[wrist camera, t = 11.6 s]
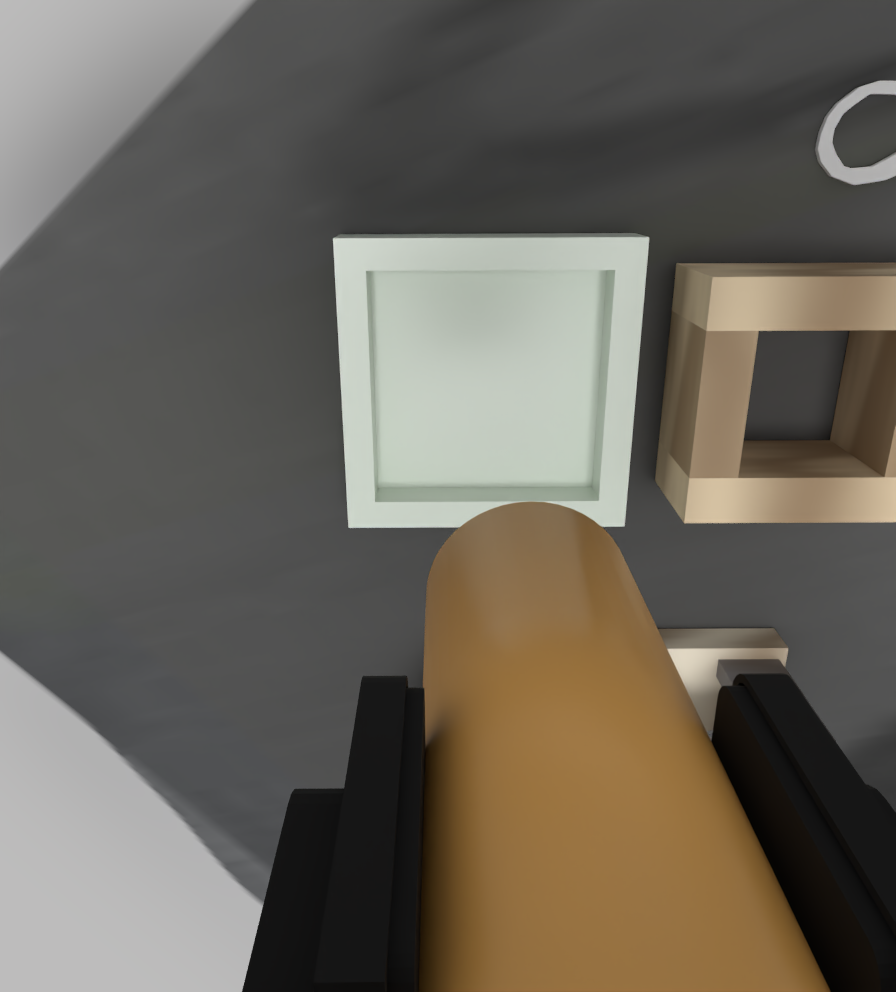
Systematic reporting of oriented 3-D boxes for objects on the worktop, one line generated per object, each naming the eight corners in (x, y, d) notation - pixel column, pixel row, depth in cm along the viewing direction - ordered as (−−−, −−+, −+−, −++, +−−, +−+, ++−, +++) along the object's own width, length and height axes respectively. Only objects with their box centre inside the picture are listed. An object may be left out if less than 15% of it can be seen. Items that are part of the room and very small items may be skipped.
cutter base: (773, 628, 33) (847, 729, 27) (753, 746, 35) (817, 864, 29) (433, 629, 33) (431, 731, 27) (434, 748, 35) (433, 867, 29)
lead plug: (637, 500, 14) (1538, 1994, 2) (621, 680, 15) (1156, 2179, 4) (424, 501, 14) (344, 2013, 2) (428, 682, 15) (385, 2193, 4)
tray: (635, 233, 27) (649, 237, 25) (613, 505, 31) (624, 526, 29) (340, 233, 27) (333, 238, 25) (354, 506, 31) (348, 527, 29)
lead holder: (908, 262, 28) (980, 275, 24) (864, 480, 31) (922, 521, 27) (676, 263, 28) (712, 276, 24) (654, 481, 31) (683, 523, 27)
